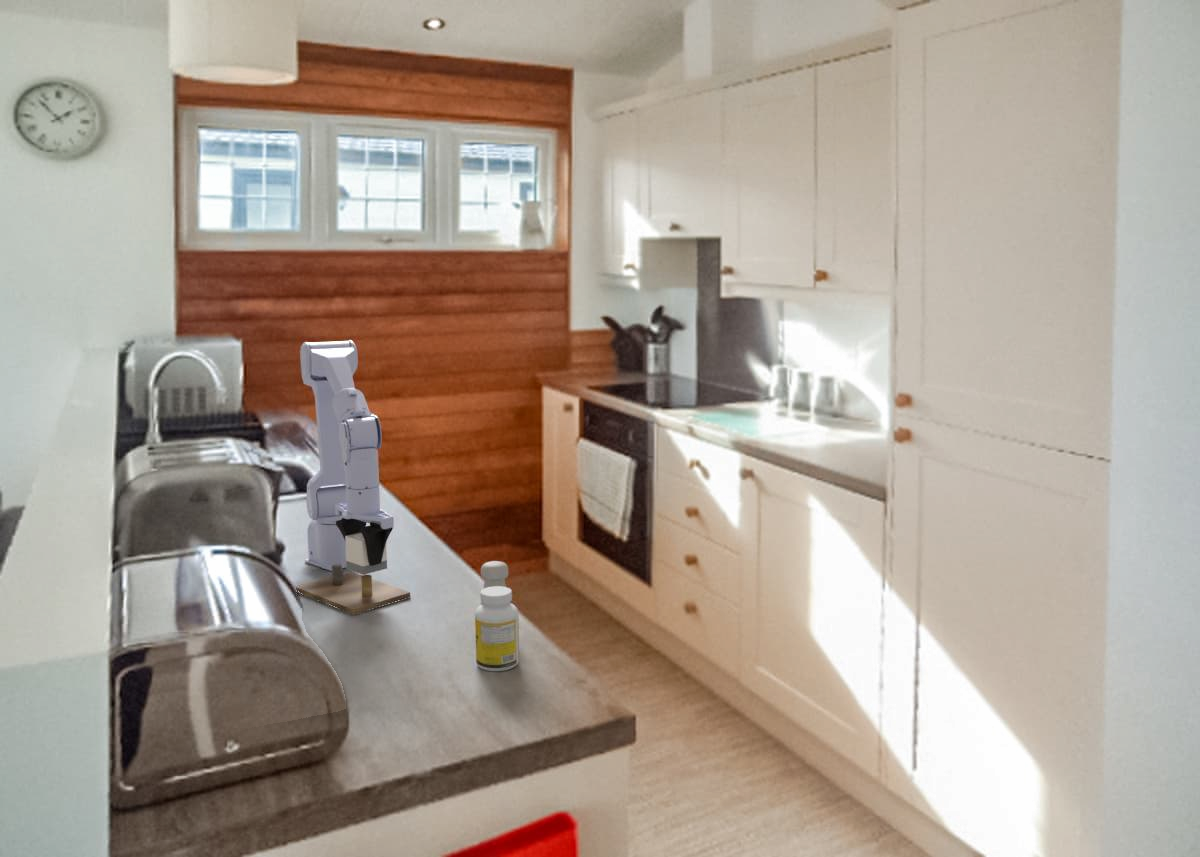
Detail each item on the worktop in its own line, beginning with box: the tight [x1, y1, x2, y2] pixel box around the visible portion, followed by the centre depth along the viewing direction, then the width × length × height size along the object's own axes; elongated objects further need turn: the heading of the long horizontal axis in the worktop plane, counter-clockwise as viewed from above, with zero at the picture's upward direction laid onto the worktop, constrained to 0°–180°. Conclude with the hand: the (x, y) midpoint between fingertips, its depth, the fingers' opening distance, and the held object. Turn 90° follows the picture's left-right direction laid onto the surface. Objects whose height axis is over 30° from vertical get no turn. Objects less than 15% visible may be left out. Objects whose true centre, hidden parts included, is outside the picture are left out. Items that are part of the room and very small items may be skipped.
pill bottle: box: [474, 586, 520, 672], centre depth 161 cm, size 6×6×12 cm
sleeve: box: [345, 532, 388, 575], centre depth 189 cm, size 5×5×6 cm
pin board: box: [295, 564, 411, 616], centre depth 193 cm, size 18×12×4 cm, turn 48°
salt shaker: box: [480, 560, 509, 605], centre depth 170 cm, size 6×6×13 cm
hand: (365, 561), depth 189 cm, fingers closed on sleeve, 5 cm apart
